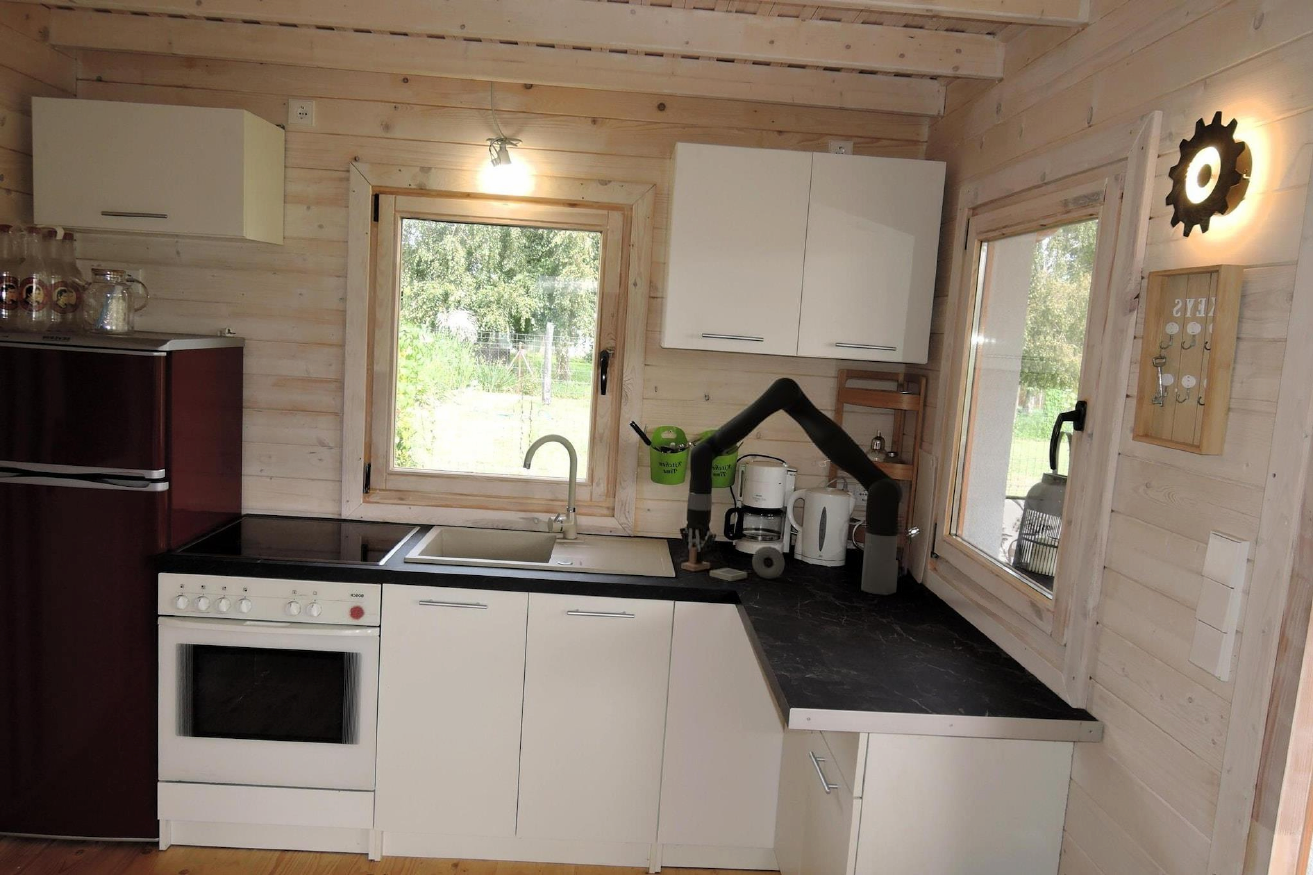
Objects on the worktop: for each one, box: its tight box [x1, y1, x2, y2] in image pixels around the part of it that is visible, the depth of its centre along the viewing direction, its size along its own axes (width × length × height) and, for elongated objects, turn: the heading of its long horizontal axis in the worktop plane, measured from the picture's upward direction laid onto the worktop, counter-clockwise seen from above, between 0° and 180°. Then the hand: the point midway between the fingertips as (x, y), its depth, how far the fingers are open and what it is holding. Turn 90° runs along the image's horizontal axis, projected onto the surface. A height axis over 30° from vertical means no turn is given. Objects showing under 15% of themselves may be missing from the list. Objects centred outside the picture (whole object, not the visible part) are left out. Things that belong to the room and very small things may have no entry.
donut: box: [751, 545, 786, 580], centre depth 280 cm, size 10×4×10 cm, turn 68°
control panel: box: [709, 567, 748, 582], centre depth 280 cm, size 8×8×2 cm
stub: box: [680, 546, 711, 572], centre depth 289 cm, size 5×8×6 cm, turn 138°
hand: (695, 561), depth 289 cm, fingers closed
